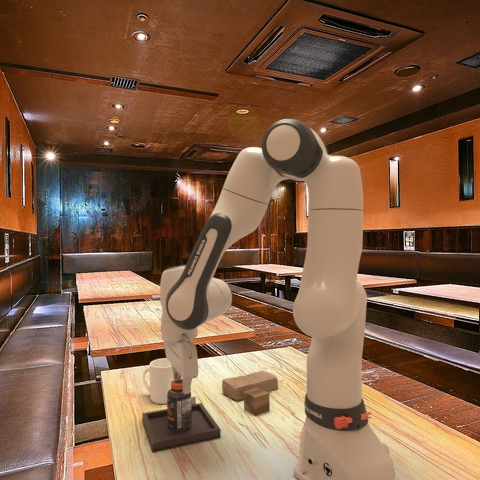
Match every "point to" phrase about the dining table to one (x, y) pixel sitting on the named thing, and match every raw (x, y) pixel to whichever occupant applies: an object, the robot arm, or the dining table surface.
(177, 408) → the pill bottle
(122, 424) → the dining table surface
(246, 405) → the walnut cube
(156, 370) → the mug
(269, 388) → the brick
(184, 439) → the tray
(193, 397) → the ceramic block
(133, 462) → the dining table surface
